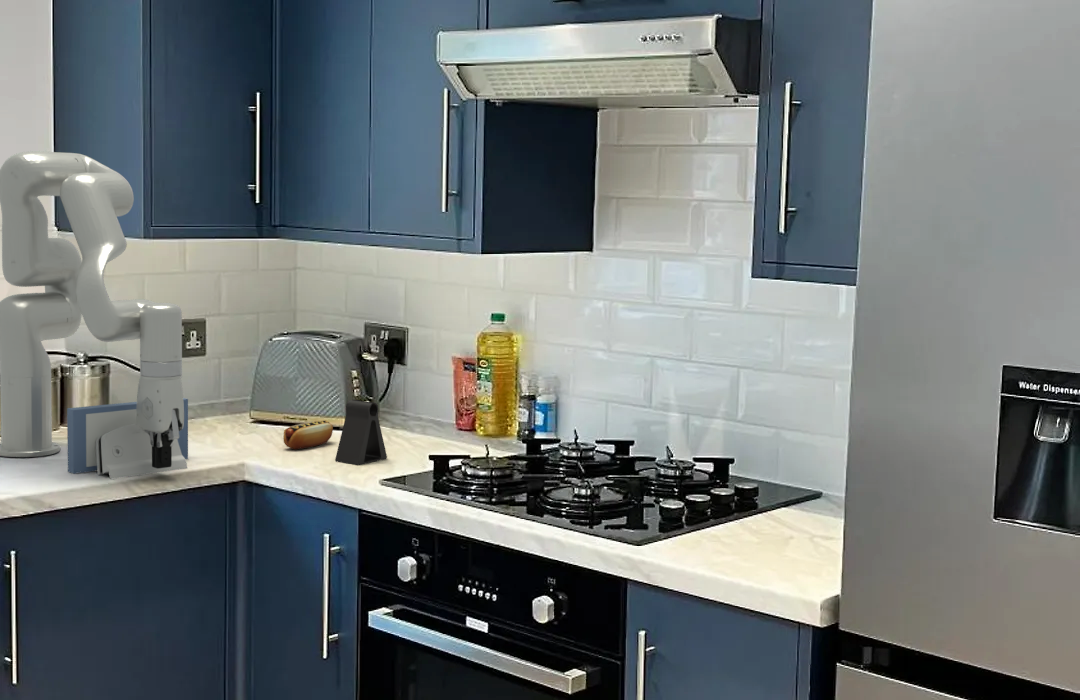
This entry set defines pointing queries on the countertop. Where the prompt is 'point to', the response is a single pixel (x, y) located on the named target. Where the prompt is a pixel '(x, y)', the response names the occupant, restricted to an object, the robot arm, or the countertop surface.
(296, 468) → the countertop surface
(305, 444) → the hot dog
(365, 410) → the dark grey a-frame stand
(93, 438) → the cabinet side
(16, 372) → the robot arm
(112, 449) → the hinge
